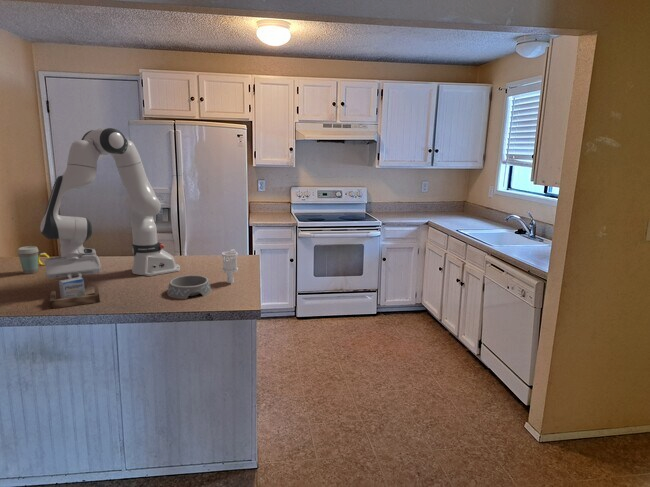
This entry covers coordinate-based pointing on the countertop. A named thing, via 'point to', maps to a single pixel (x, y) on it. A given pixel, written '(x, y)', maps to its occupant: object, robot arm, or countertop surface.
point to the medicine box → (72, 287)
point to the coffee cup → (29, 259)
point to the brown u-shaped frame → (74, 299)
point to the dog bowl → (188, 286)
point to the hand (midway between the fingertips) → (75, 283)
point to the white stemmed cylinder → (230, 264)
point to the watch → (42, 255)
